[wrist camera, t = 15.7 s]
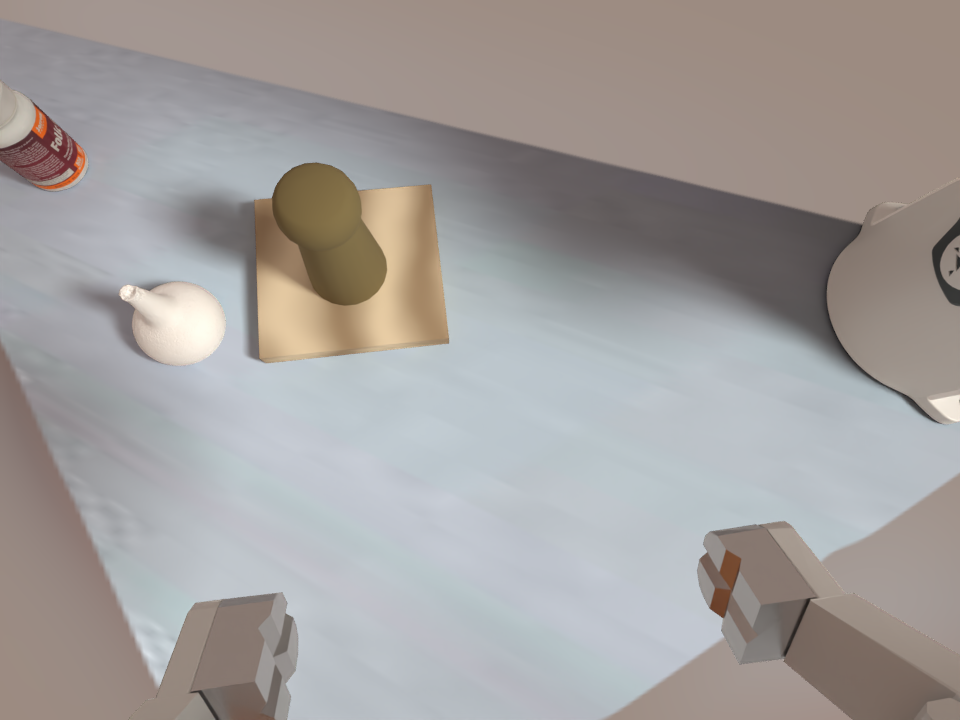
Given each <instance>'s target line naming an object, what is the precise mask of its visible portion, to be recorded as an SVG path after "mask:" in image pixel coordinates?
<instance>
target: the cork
mask: <svg viewBox="0 0 960 720" xmlns="http://www.w3.org/2000/svg"><path fill="white" fill-rule="evenodd" d="M272 211H273V216H274V218H275V221H276V223H277V225H278V227H279V229H280V230H281V231H282V232H283V233H284V235H285V236H286V237H287V238H288V239H289V240H290V241H292V242H294V243H295V244H297V245H298V247H299V250H300V253H301V256H302V259H303V262H304V265H305V268H306V271H307V274H308V277H309V279H310V282H311V284H312V286H313V289H314V290H315V291H316V292H317V293H318V294H319V295H320V296H321V298H323V299H325V300H327V301H329V302H331V303H333V304H338V305H343V306H347V305H356V304H359V303H362V302H364V301H366V300H369V299H370V298H371V297H372V296H373V295H375V294H376V293H377V292H378V291H379V289H380V288H381V286H382V285H383V283H384V281H385V278H386V274H387V262H386V258H385V255H384V253H383V251H382V249H381V247H380V246H379V244H378V243H377V241H376V240H375V238H374V237H373V235H372V234H371V232H370V231H369V229H368V228H367V226H366V225H365V223H364V222H363V220H362V219H361V215H362V207H361V199H360V195H359V193H358V191H357V189H356V187H355V185H354V183H353V182H352V181H351V180H350V179H349V178H348V177H347V176H346V175H345V174H344V173H343V172H342V171H341V170H339V169H337V168H335V167H333V166H331V165H326V164H321V163H305V164H302V165H299V166H297V167H294V168H292V169H291V170H290V171H288V172H287V173H285V174H284V175H283V177H282V178H281V179H280V181H279V182H278V183H277V185H276V187H275V190H274V193H273V196H272Z"/></svg>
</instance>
